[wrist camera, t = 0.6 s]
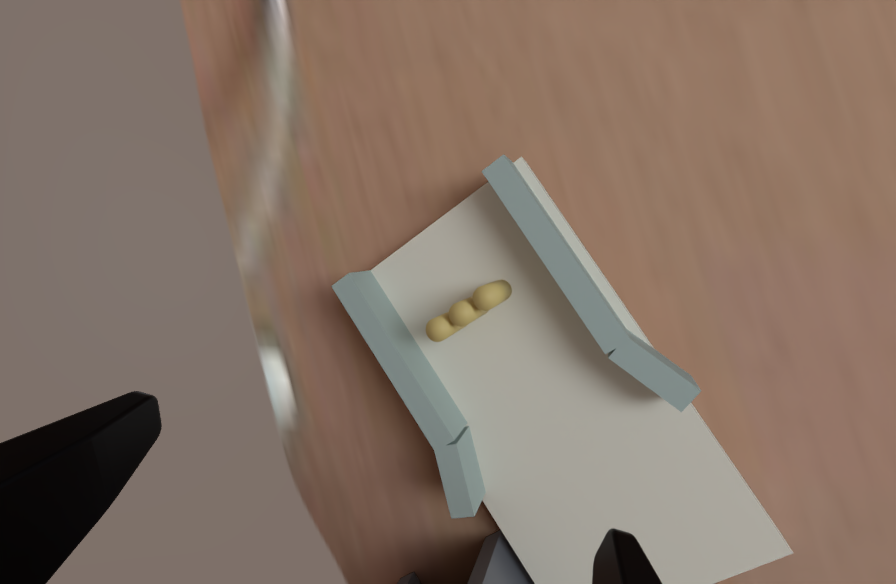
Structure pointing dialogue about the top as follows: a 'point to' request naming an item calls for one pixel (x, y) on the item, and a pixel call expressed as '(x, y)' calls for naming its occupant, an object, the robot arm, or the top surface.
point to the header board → (552, 395)
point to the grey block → (492, 565)
